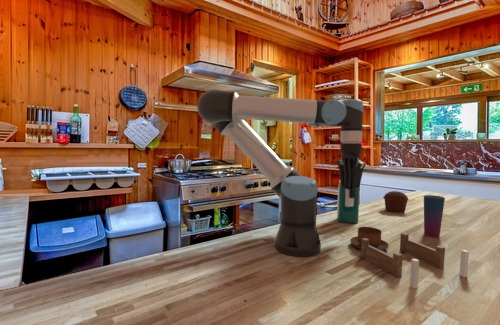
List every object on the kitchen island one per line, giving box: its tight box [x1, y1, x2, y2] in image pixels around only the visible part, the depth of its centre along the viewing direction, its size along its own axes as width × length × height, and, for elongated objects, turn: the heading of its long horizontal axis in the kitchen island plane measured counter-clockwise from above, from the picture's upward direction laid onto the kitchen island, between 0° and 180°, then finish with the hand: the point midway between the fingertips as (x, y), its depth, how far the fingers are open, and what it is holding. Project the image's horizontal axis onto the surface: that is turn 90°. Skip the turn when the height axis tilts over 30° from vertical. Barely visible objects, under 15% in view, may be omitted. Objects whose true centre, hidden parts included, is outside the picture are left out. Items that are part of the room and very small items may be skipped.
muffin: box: [383, 190, 409, 214], centre depth 148 cm, size 12×11×10 cm
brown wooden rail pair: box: [360, 232, 446, 278], centre depth 85 cm, size 18×14×6 cm
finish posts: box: [409, 249, 470, 290], centre depth 73 cm, size 19×1×7 cm, turn 110°
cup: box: [423, 194, 446, 238], centre depth 110 cm, size 7×7×15 cm
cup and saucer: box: [350, 226, 389, 252], centre depth 97 cm, size 12×12×6 cm
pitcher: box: [336, 182, 361, 224], centre depth 128 cm, size 10×8×22 cm
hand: (349, 206), depth 106 cm, fingers closed
